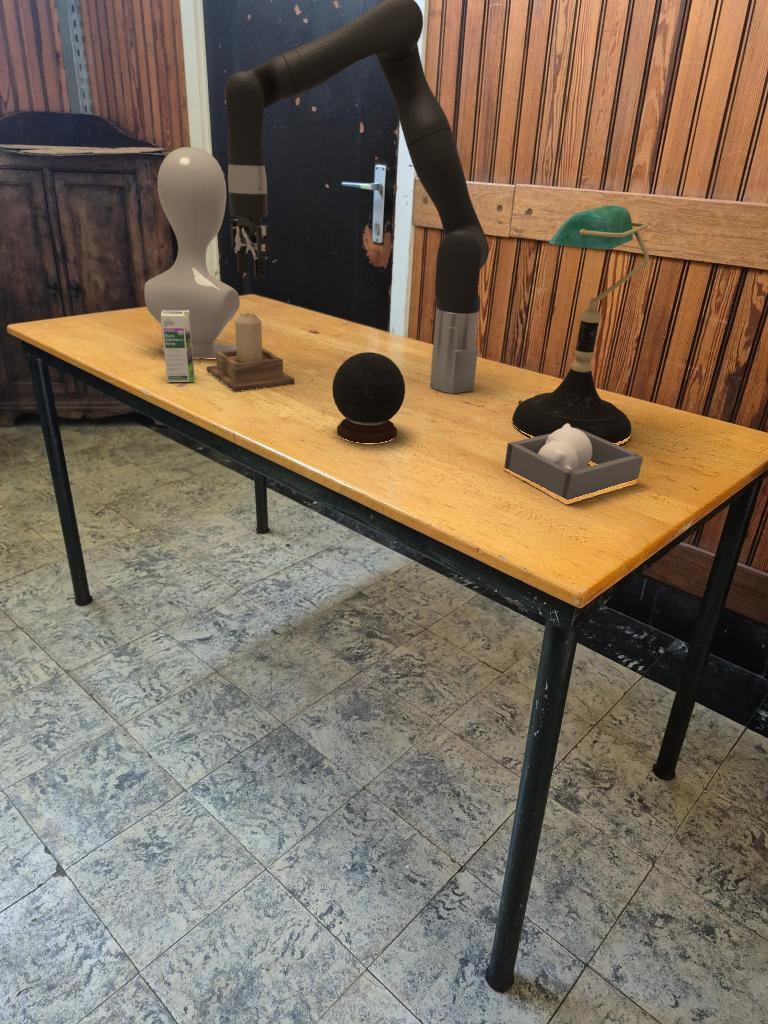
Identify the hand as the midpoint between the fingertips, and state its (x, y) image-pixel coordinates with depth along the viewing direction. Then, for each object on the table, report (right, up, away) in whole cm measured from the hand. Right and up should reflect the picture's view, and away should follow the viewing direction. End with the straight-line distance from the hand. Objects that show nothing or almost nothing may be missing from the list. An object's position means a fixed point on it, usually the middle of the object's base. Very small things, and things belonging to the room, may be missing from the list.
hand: (251, 275), depth 147 cm
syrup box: (-17, -21, +7) cm, 27 cm away
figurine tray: (+59, -44, -30) cm, 79 cm away
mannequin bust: (-18, -10, +27) cm, 34 cm away
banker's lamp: (+65, -33, -8) cm, 73 cm away
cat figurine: (+57, -44, -29) cm, 77 cm away
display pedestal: (-2, -20, +10) cm, 22 cm away
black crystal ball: (+25, -35, -16) cm, 46 cm away
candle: (-2, -16, +8) cm, 18 cm away
